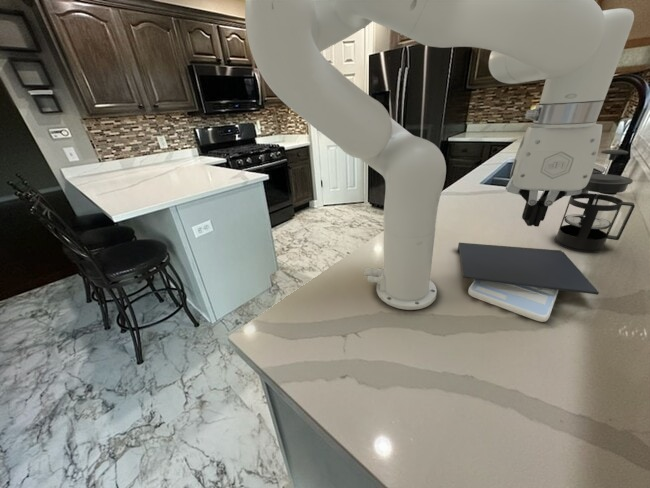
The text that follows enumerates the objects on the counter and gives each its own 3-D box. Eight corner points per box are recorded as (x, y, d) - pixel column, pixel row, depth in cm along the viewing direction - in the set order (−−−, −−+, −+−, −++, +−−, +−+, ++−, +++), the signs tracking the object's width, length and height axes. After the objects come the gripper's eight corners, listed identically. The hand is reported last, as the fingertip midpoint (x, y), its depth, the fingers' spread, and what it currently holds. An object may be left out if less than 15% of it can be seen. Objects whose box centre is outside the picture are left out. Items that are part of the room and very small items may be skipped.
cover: (463, 278, 55) (463, 276, 54) (458, 245, 68) (459, 243, 68) (598, 295, 47) (599, 292, 46) (562, 253, 60) (563, 251, 60)
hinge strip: (457, 252, 69) (458, 244, 68) (457, 250, 70) (458, 242, 69) (559, 261, 61) (562, 252, 60) (557, 259, 62) (561, 250, 61)
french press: (548, 245, 67) (580, 153, 57) (553, 232, 73) (582, 146, 63) (613, 258, 60) (664, 155, 49) (612, 242, 66) (657, 147, 55)
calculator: (564, 273, 57) (567, 266, 56) (546, 325, 45) (549, 317, 44) (495, 255, 66) (497, 249, 65) (465, 295, 54) (466, 288, 53)
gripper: (514, 120, 40) (488, 228, 49) (646, 113, 35) (591, 236, 43) (504, 117, 46) (483, 213, 55) (615, 111, 41) (572, 219, 49)
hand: (530, 223), depth 49 cm, fingers closed
